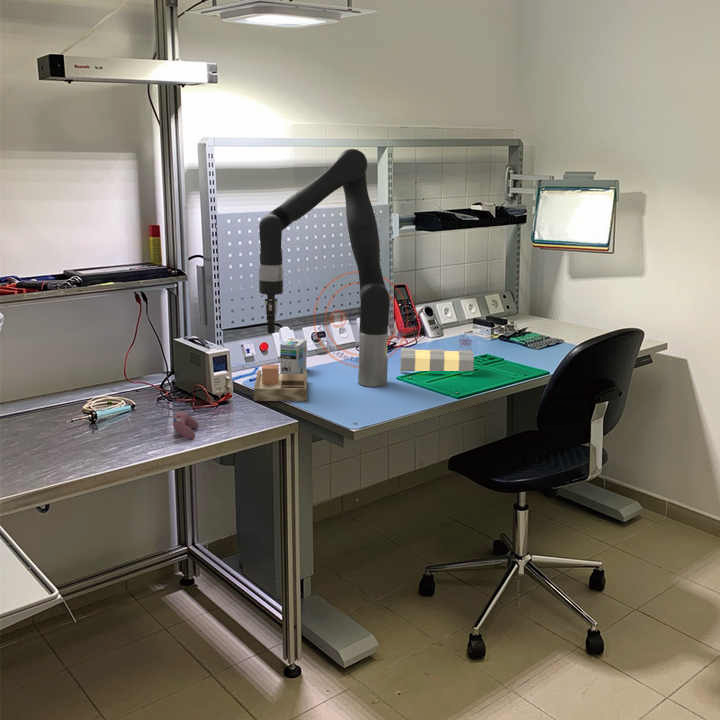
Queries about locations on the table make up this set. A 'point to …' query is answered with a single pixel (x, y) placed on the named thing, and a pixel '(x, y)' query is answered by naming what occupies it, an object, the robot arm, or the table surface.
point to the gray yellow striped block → (438, 359)
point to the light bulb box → (293, 356)
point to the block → (270, 374)
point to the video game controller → (184, 424)
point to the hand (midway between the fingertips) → (271, 331)
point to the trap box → (282, 388)
